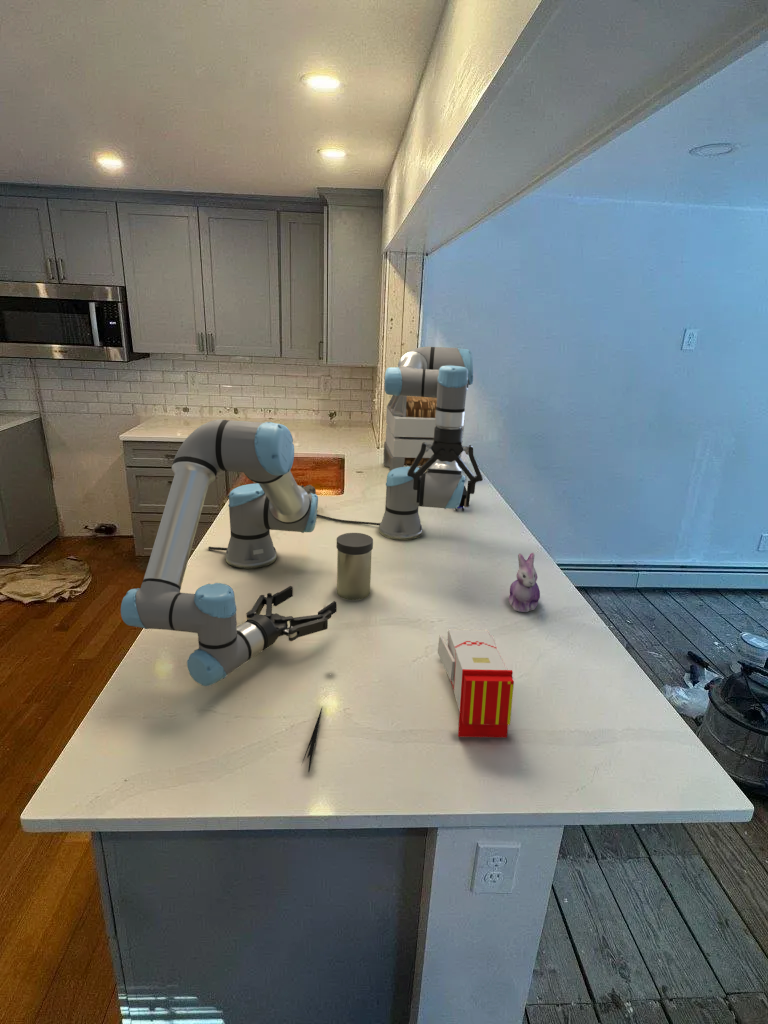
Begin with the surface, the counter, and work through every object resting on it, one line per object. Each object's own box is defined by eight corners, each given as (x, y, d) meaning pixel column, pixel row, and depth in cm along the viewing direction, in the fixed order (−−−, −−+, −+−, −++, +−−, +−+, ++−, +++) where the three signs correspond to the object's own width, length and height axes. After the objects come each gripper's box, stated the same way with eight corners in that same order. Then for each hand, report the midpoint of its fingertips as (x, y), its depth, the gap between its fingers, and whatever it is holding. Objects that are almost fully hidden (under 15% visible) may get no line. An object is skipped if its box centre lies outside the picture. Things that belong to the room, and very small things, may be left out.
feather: (331, 679, 122) (336, 673, 122) (307, 777, 96) (313, 769, 95) (324, 675, 122) (329, 669, 121) (298, 772, 95) (304, 764, 95)
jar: (330, 593, 156) (330, 542, 151) (349, 581, 164) (351, 532, 158) (357, 603, 152) (358, 550, 146) (376, 590, 159) (378, 540, 154)
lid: (329, 548, 152) (329, 540, 151) (350, 537, 159) (350, 529, 159) (358, 557, 147) (359, 549, 146) (379, 545, 155) (380, 538, 154)
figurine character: (468, 516, 224) (463, 500, 237) (471, 498, 221) (465, 483, 234) (452, 515, 224) (447, 499, 237) (453, 498, 220) (449, 482, 234)
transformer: (382, 463, 289) (386, 382, 275) (445, 464, 293) (451, 384, 279) (390, 482, 257) (394, 392, 243) (460, 483, 261) (468, 394, 247)
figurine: (522, 617, 148) (530, 565, 143) (498, 599, 157) (504, 549, 152) (549, 609, 153) (558, 559, 148) (524, 593, 161) (531, 544, 156)
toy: (488, 613, 130) (523, 677, 101) (484, 667, 133) (517, 744, 104) (435, 612, 130) (455, 676, 101) (432, 666, 133) (451, 743, 103)
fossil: (285, 490, 226) (313, 470, 221) (301, 508, 229) (329, 489, 224) (270, 515, 206) (301, 493, 201) (287, 534, 209) (318, 513, 204)
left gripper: (212, 634, 130) (274, 597, 148) (298, 671, 119) (354, 627, 136) (210, 605, 128) (274, 571, 145) (297, 640, 116) (355, 599, 133)
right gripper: (495, 426, 152) (487, 501, 159) (402, 421, 154) (398, 495, 161) (498, 432, 145) (489, 510, 152) (400, 426, 147) (396, 503, 154)
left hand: (313, 598), depth 141 cm, fingers open, 13 cm apart
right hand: (442, 503), depth 156 cm, fingers open, 13 cm apart
